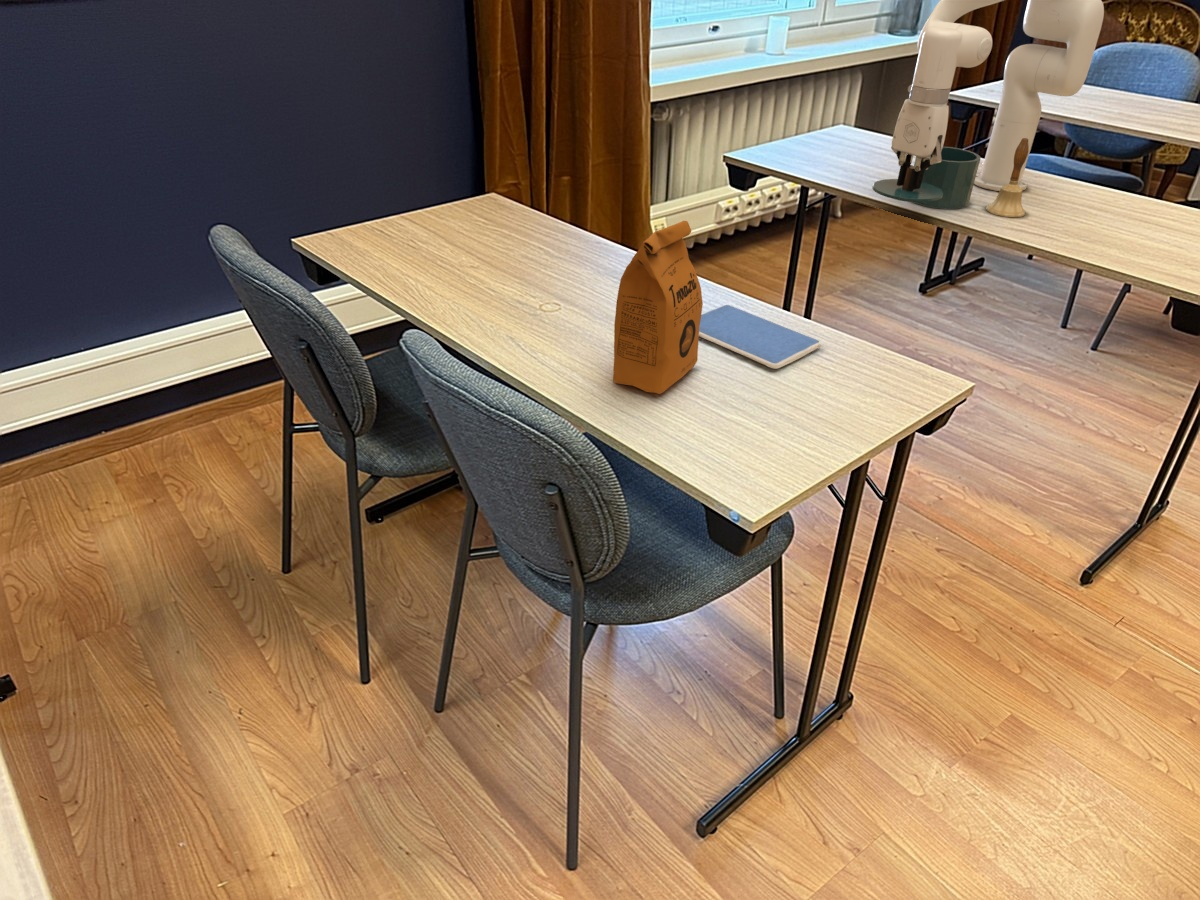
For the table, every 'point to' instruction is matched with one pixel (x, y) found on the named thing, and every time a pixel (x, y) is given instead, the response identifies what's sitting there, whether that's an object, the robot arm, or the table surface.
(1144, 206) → the table surface
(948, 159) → the tin
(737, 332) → the tablet
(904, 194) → the tin lid
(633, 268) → the coffee package
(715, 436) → the table surface
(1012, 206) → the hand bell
